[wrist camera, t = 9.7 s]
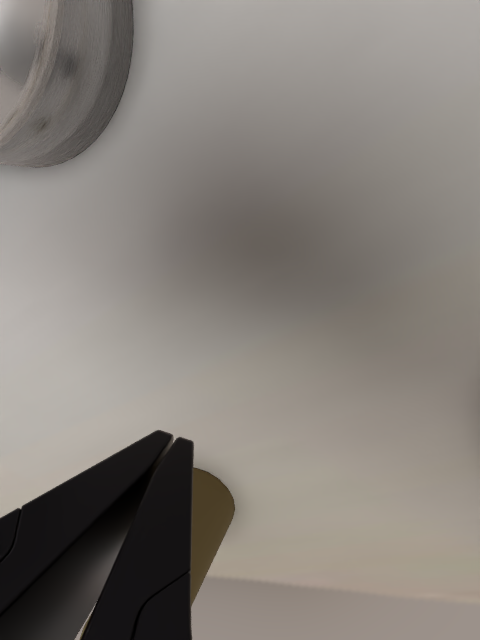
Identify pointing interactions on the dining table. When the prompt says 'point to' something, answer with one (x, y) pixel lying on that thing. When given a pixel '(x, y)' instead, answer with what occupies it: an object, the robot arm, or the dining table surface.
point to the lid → (26, 57)
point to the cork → (206, 524)
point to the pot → (78, 85)
